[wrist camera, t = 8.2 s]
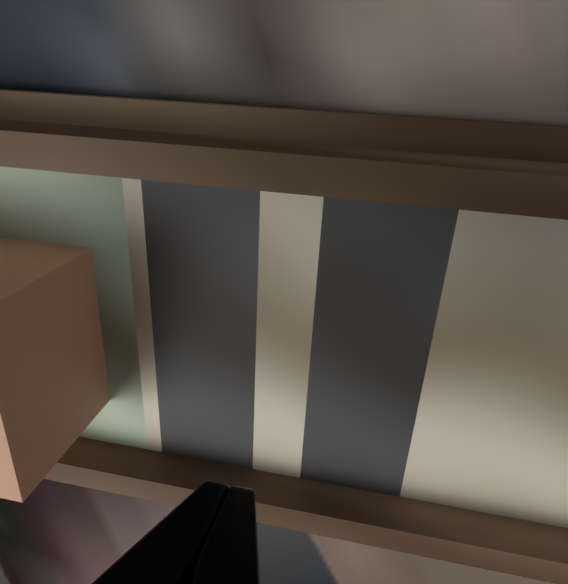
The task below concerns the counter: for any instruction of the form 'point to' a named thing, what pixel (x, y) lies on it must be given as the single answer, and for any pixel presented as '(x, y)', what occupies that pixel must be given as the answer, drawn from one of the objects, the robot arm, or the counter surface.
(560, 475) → the trap lane
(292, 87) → the counter surface
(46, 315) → the terracotta block
